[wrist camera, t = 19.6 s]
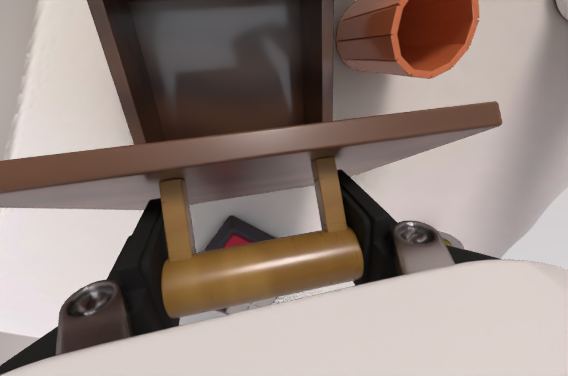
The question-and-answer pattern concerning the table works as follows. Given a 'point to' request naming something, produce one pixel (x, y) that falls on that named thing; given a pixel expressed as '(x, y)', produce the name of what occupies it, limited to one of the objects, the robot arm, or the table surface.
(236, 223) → the calculator
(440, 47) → the cup
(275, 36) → the chest
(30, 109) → the table surface
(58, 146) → the table surface
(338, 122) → the lid
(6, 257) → the table surface
